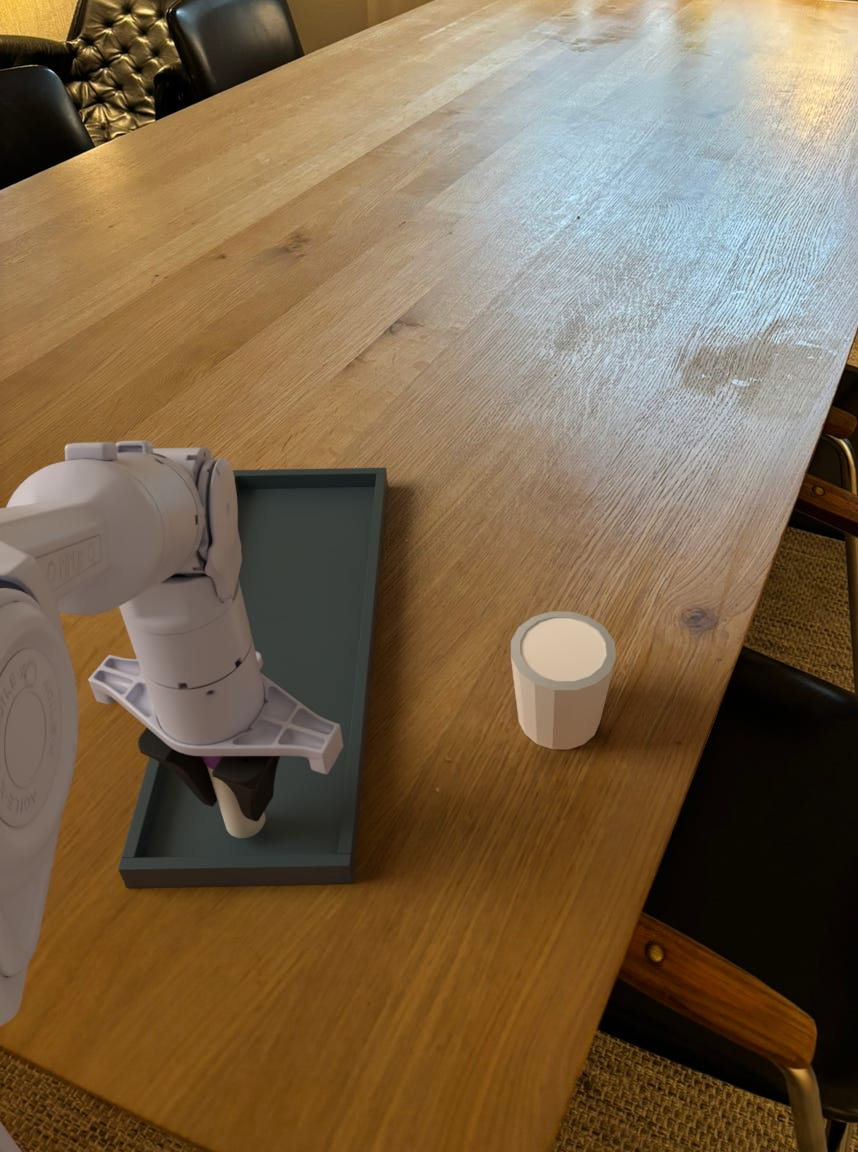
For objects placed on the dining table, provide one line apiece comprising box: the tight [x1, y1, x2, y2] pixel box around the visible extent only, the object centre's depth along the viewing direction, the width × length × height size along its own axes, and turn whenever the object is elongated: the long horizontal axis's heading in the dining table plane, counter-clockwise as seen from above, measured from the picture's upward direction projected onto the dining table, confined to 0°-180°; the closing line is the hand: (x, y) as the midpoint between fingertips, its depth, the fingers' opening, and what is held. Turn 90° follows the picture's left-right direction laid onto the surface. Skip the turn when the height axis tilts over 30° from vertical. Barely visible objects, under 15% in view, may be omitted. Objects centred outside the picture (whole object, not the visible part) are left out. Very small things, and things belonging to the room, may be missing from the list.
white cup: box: [510, 610, 617, 750], centre depth 68 cm, size 7×7×7 cm
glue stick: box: [202, 756, 265, 838], centre depth 60 cm, size 3×3×9 cm
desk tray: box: [117, 467, 389, 889], centre depth 75 cm, size 38×14×2 cm, turn 1°
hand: (239, 799), depth 61 cm, fingers closed on glue stick, 2 cm apart
